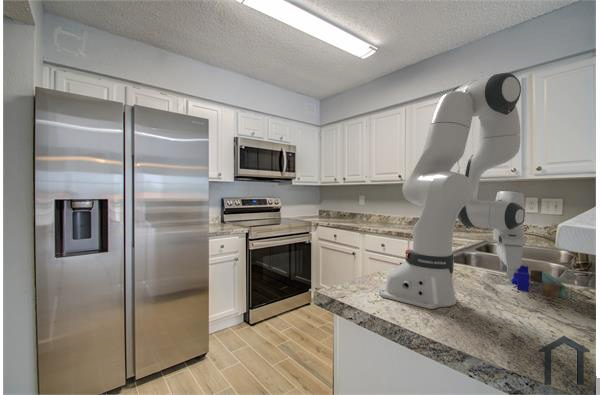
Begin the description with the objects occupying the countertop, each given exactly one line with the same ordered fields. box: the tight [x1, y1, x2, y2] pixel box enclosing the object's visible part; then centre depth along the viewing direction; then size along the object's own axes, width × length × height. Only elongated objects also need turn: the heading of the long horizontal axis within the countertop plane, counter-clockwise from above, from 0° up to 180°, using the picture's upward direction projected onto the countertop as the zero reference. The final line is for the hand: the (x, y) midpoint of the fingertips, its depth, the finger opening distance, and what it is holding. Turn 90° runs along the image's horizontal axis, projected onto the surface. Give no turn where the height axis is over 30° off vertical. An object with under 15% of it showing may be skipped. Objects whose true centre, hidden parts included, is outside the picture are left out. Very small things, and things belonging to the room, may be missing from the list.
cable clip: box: [511, 264, 530, 293], centre depth 100 cm, size 12×4×6 cm, turn 143°
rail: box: [528, 268, 566, 300], centre depth 97 cm, size 5×18×4 cm, turn 154°
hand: (506, 274), depth 102 cm, fingers open, 8 cm apart
